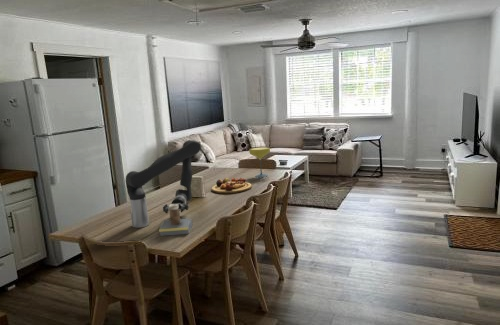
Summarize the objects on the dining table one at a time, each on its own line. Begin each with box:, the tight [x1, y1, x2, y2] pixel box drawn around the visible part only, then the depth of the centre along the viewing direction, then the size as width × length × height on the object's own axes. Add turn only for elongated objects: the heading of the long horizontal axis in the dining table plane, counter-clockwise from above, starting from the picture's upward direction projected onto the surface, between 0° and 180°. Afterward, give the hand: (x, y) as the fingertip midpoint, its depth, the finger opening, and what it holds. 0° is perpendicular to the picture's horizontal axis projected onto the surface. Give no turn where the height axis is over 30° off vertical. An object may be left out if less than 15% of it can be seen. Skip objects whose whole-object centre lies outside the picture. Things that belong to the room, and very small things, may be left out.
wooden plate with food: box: [211, 177, 253, 194], centre depth 299 cm, size 32×32×8 cm
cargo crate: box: [168, 204, 181, 225], centre depth 215 cm, size 4×4×11 cm
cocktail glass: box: [248, 146, 271, 178], centre depth 332 cm, size 18×18×25 cm
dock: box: [158, 218, 193, 237], centre depth 216 cm, size 16×15×4 cm
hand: (173, 211), depth 212 cm, fingers open, 8 cm apart
